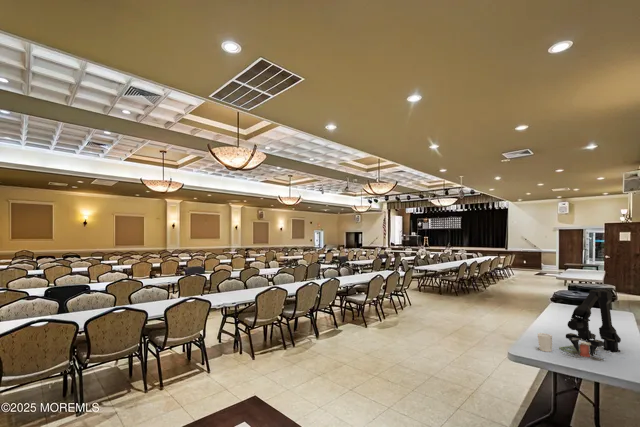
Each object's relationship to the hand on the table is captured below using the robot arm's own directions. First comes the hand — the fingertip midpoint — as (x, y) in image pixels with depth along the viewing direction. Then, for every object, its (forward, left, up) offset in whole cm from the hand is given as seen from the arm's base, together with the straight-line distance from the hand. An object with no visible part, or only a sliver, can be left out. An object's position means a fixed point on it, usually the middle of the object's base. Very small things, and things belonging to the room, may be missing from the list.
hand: (584, 353), depth 199 cm
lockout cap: (0, 0, -1) cm, 1 cm away
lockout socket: (+10, -1, -1) cm, 10 cm away
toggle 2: (+7, -14, 0) cm, 16 cm away
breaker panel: (+9, -12, -1) cm, 15 cm away
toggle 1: (+7, -10, 0) cm, 12 cm away
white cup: (+14, +15, -2) cm, 21 cm away
